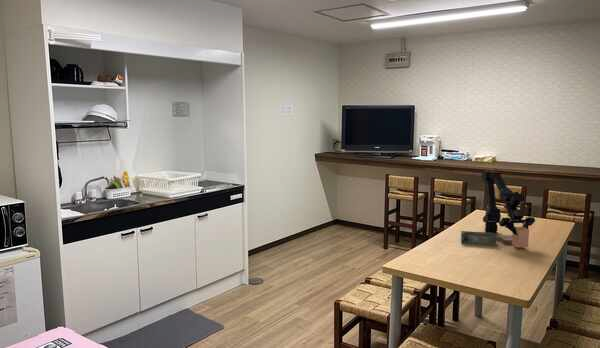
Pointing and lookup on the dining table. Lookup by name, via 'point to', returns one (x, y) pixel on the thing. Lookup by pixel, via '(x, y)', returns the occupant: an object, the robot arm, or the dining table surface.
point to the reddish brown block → (520, 237)
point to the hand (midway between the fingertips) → (522, 234)
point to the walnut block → (504, 239)
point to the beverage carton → (478, 238)
